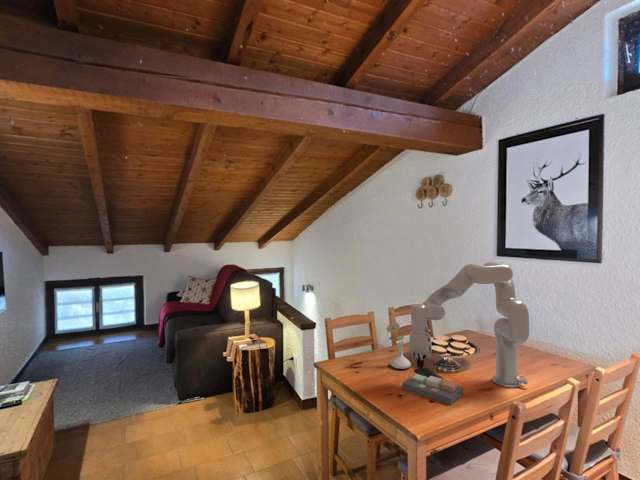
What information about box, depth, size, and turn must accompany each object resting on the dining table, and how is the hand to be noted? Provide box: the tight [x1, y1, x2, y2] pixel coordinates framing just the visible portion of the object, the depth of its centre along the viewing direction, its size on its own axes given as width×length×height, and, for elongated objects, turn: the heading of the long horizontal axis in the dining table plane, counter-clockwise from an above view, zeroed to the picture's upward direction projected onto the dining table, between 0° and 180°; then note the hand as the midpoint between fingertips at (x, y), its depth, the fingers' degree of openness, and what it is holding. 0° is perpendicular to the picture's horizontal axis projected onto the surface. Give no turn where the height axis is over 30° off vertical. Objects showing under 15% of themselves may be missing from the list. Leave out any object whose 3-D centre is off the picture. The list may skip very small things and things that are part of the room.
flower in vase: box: [386, 321, 412, 370], centre depth 191 cm, size 13×11×25 cm
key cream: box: [426, 376, 443, 388], centre depth 163 cm, size 5×5×3 cm
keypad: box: [402, 373, 464, 406], centre depth 161 cm, size 23×14×3 cm, turn 48°
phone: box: [413, 366, 444, 381], centre depth 180 cm, size 8×1×15 cm
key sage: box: [411, 373, 427, 383], centre depth 168 cm, size 5×5×3 cm
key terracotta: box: [442, 379, 459, 393], centre depth 158 cm, size 5×5×3 cm
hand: (420, 367), depth 168 cm, fingers closed
